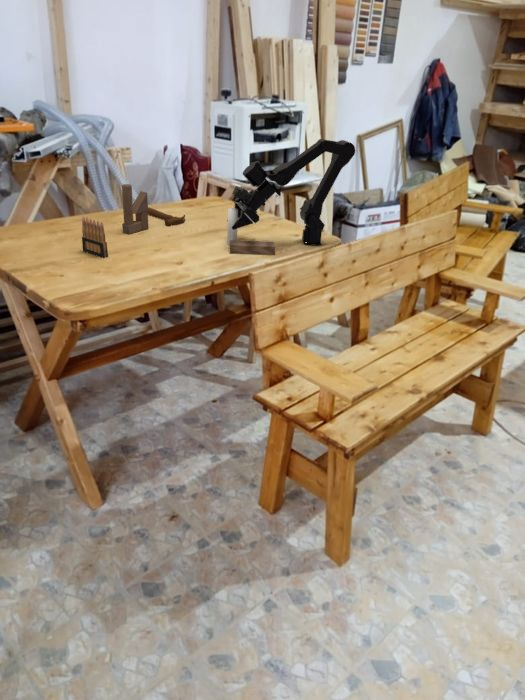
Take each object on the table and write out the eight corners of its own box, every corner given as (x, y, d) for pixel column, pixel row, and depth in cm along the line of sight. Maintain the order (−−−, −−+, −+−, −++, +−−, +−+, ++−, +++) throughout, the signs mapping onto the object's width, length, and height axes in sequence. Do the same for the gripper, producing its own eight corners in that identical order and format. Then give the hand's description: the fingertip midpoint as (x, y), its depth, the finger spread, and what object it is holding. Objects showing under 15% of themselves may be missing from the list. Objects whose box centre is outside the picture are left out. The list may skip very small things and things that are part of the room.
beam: (273, 249, 206) (273, 241, 205) (274, 254, 201) (275, 246, 200) (229, 248, 205) (229, 240, 204) (229, 253, 200) (230, 245, 198)
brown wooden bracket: (148, 229, 221) (147, 182, 212) (129, 234, 213) (126, 186, 204) (142, 227, 223) (139, 180, 214) (122, 232, 214) (119, 184, 206)
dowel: (236, 242, 211) (237, 208, 205) (236, 245, 208) (238, 210, 202) (227, 242, 211) (228, 208, 205) (227, 245, 208) (228, 210, 202)
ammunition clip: (82, 251, 193) (79, 216, 187) (86, 250, 194) (83, 215, 189) (104, 258, 188) (101, 222, 182) (108, 256, 189) (105, 221, 184)
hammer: (127, 211, 244) (168, 227, 225) (126, 204, 242) (168, 219, 224) (149, 208, 251) (191, 223, 233) (149, 201, 250) (191, 216, 232)
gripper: (241, 173, 207) (211, 203, 210) (252, 184, 191) (219, 216, 194) (260, 195, 213) (231, 224, 215) (272, 207, 197) (240, 238, 200)
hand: (230, 225), depth 206 cm, fingers open, 9 cm apart
